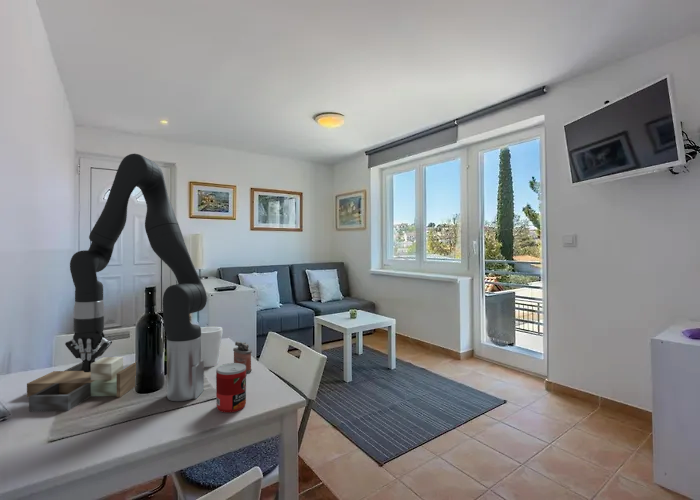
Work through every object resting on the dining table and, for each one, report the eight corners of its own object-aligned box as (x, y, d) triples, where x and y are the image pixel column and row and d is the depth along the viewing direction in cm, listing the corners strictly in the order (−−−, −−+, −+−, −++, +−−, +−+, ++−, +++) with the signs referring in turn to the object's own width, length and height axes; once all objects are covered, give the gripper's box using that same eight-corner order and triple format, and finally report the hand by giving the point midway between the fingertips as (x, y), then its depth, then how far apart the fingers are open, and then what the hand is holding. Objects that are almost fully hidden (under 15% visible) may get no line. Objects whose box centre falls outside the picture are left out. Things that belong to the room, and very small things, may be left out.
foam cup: (216, 368, 128) (216, 332, 128) (190, 368, 128) (190, 332, 128) (226, 360, 138) (226, 326, 137) (202, 359, 138) (202, 326, 137)
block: (123, 372, 113) (123, 357, 113) (111, 380, 107) (111, 363, 107) (103, 372, 112) (103, 357, 112) (90, 380, 106) (90, 363, 106)
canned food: (237, 414, 94) (237, 373, 94) (210, 411, 96) (210, 371, 96) (251, 401, 102) (251, 363, 102) (225, 399, 103) (225, 361, 103)
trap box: (154, 372, 124) (154, 352, 124) (102, 410, 96) (102, 384, 96) (74, 373, 123) (73, 353, 123) (-2, 411, 95) (-3, 385, 95)
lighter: (253, 371, 126) (253, 343, 126) (246, 374, 123) (246, 345, 123) (238, 366, 130) (238, 339, 130) (230, 369, 127) (230, 341, 127)
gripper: (118, 313, 113) (118, 367, 113) (75, 312, 112) (75, 367, 113) (103, 318, 106) (103, 376, 106) (57, 317, 105) (56, 376, 105)
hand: (88, 371), depth 109 cm, fingers closed
